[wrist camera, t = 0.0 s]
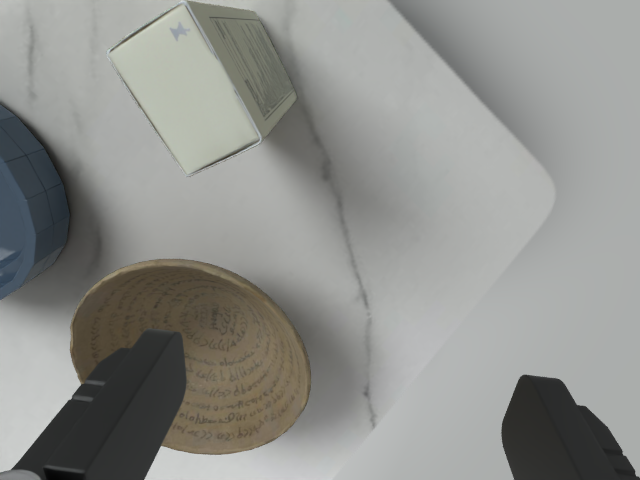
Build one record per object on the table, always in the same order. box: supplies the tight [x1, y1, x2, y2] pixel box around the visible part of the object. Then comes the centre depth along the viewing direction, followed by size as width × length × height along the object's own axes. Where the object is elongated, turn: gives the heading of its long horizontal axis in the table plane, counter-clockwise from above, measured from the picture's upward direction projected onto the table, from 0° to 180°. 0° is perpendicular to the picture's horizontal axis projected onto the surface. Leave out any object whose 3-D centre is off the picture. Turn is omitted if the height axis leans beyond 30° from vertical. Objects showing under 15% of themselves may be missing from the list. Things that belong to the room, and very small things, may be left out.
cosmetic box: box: [106, 0, 297, 177], centre depth 23 cm, size 6×4×12 cm
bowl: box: [70, 259, 311, 455], centre depth 34 cm, size 18×18×8 cm
